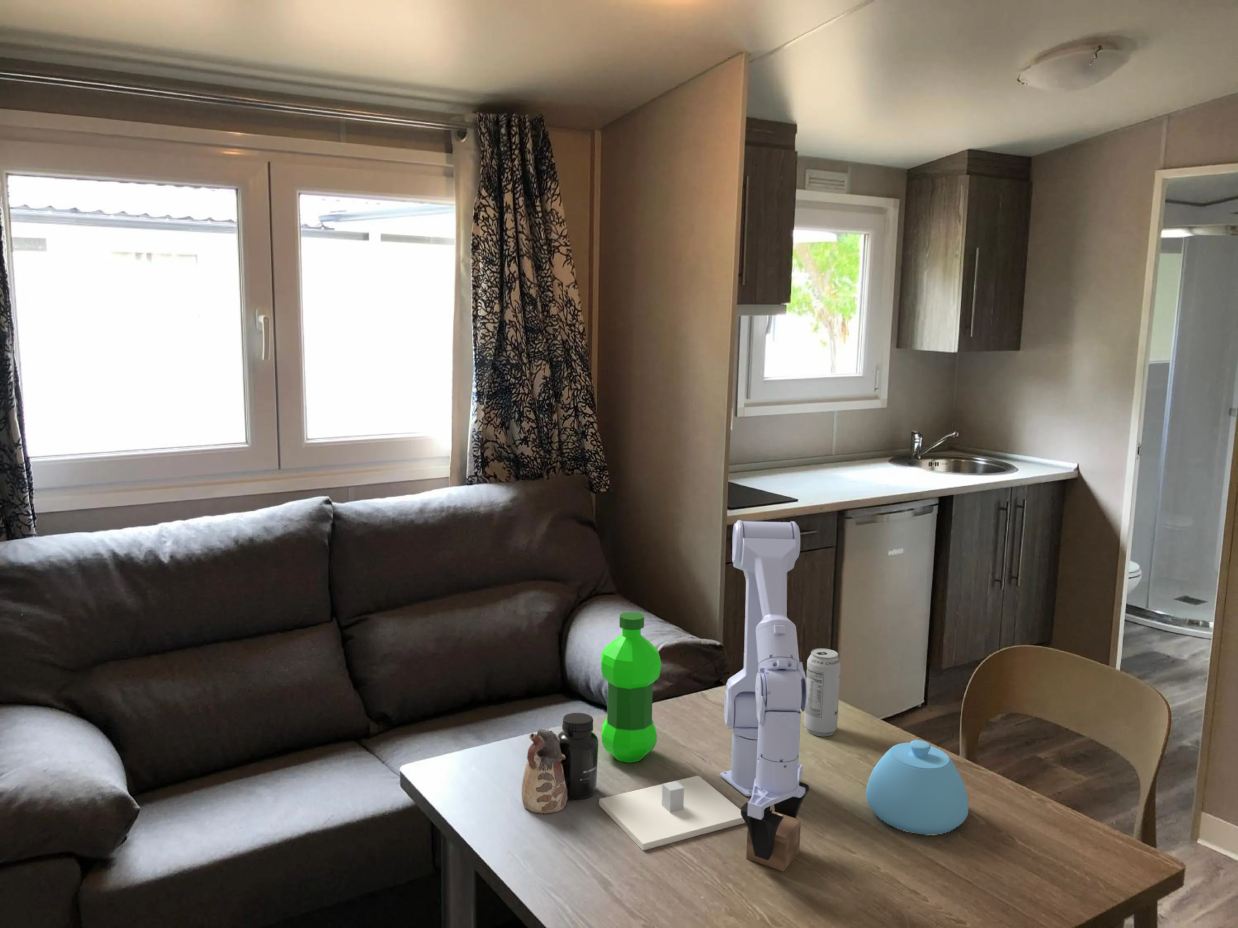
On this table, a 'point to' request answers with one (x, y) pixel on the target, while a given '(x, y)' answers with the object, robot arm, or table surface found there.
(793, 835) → the walnut knob
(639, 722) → the plastic bottle
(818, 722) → the energy drink can
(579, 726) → the supplement bottle
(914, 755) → the sugar bowl
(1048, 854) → the table surface
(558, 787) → the figurine
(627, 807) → the board
